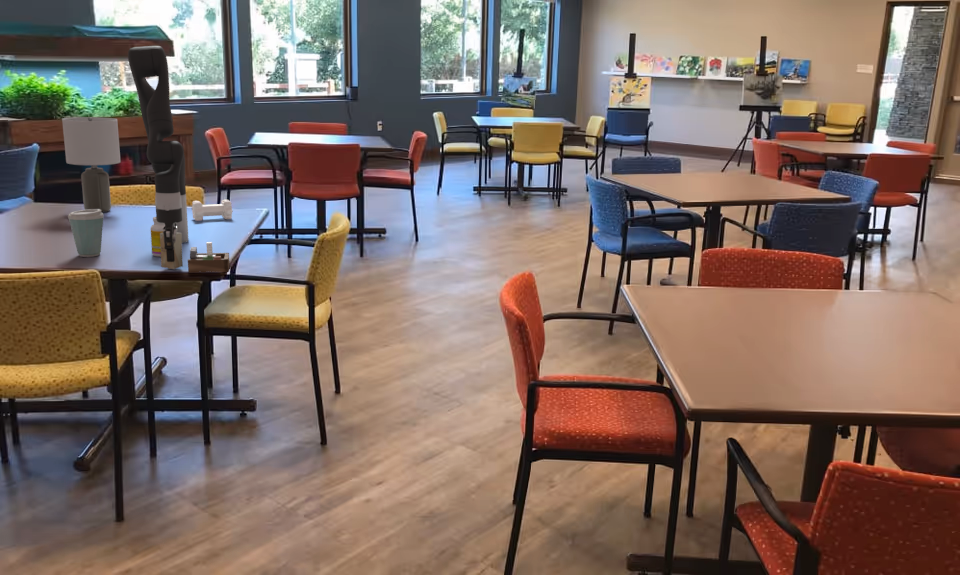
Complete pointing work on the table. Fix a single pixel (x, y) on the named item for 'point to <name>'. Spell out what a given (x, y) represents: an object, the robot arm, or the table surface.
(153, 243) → the supplement bottle
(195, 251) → the grey blocky piece
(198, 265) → the brown wooden open box
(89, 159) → the lamp
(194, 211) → the dog bone
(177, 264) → the box
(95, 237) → the disposable coffee cup
